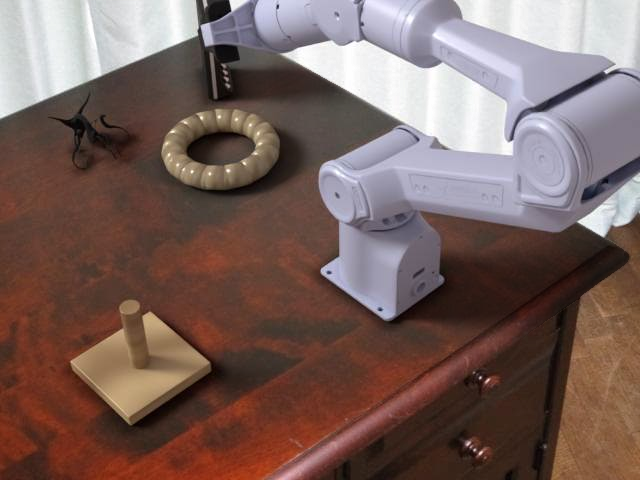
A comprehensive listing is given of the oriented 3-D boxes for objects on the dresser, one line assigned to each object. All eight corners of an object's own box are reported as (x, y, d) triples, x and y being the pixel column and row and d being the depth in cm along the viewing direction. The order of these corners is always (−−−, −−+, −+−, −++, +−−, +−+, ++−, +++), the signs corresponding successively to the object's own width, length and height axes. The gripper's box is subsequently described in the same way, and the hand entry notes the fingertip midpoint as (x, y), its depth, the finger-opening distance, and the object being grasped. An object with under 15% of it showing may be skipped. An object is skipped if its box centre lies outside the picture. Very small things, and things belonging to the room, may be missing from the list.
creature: (144, 151, 130) (94, 113, 132) (146, 117, 126) (95, 79, 128) (92, 186, 125) (42, 146, 128) (92, 152, 121) (40, 111, 124)
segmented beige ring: (303, 158, 126) (303, 139, 125) (213, 211, 120) (211, 192, 118) (229, 109, 133) (227, 90, 132) (140, 157, 127) (137, 138, 125)
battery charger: (241, 99, 135) (234, 14, 127) (208, 102, 134) (199, 17, 127) (233, 66, 140) (227, -18, 132) (202, 70, 139) (194, -14, 132)
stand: (211, 371, 104) (203, 307, 98) (130, 426, 99) (117, 362, 94) (151, 319, 108) (140, 256, 103) (71, 369, 104) (56, 306, 98)
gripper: (362, -44, 105) (290, -21, 117) (222, -19, 98) (161, 3, 110) (377, 32, 106) (305, 48, 118) (241, 62, 99) (178, 76, 111)
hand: (236, 31), depth 114 cm, fingers open, 7 cm apart
